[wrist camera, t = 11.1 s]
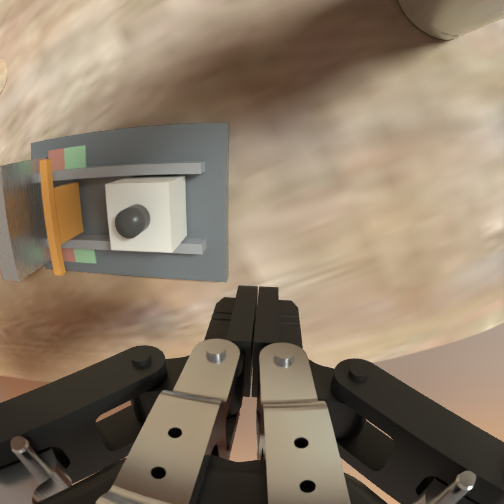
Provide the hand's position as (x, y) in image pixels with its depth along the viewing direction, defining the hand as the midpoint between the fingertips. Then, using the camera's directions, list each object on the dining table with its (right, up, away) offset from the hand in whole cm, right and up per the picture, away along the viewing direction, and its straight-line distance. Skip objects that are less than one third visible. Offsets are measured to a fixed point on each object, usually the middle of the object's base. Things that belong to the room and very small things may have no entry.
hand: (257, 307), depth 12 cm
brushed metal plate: (-25, +7, +19) cm, 32 cm away
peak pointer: (-19, +7, +18) cm, 28 cm away
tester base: (-14, +8, +20) cm, 26 cm away
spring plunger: (-10, +7, +18) cm, 22 cm away
